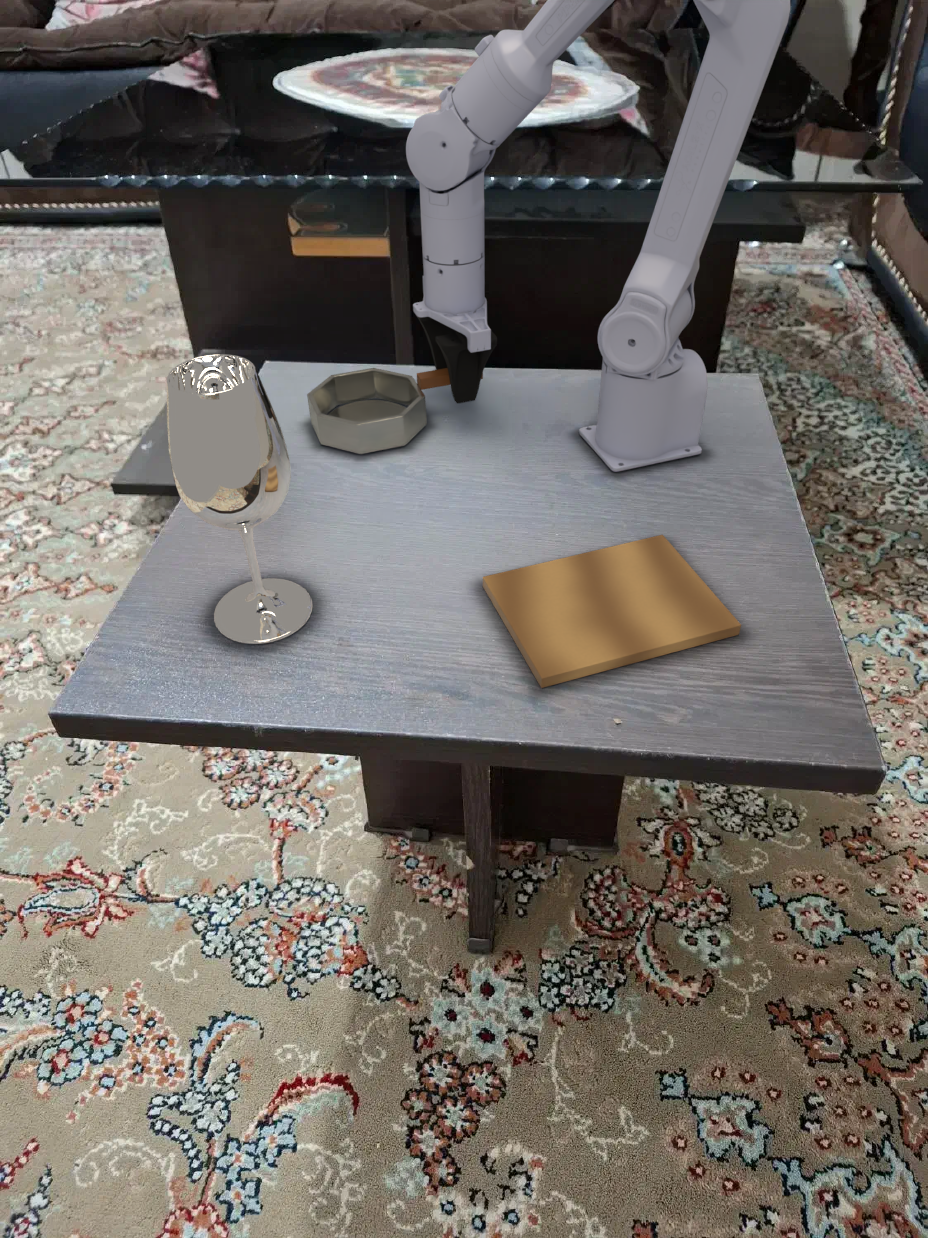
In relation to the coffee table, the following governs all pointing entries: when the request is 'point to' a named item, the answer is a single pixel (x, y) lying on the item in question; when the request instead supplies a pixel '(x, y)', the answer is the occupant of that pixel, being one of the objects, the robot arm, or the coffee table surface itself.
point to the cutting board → (607, 609)
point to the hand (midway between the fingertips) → (456, 389)
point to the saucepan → (371, 408)
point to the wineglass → (234, 481)
